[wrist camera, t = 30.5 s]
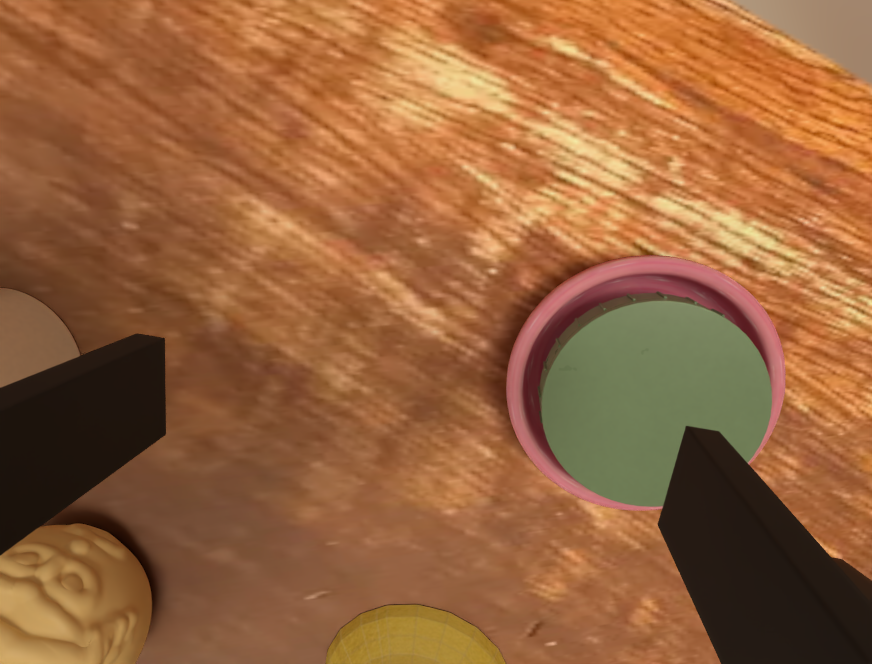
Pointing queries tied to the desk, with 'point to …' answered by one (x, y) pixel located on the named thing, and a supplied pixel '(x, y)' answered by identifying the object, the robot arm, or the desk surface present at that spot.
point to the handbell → (411, 639)
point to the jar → (30, 337)
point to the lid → (648, 392)
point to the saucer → (603, 287)
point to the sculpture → (72, 599)
